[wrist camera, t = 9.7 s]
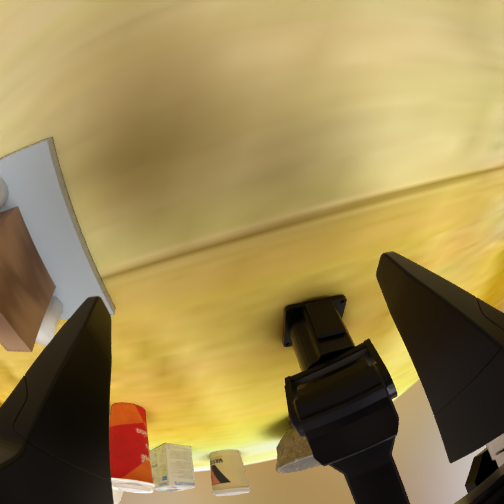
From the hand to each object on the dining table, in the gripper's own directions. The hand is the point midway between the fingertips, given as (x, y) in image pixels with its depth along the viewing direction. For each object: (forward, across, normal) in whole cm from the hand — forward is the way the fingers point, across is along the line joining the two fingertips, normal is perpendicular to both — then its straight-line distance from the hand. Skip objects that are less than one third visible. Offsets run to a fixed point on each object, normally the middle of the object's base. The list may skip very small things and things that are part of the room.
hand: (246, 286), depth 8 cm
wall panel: (+12, +16, +4) cm, 21 cm away
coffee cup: (+12, +8, +70) cm, 71 cm away
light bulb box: (+12, +20, +61) cm, 65 cm away
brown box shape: (+11, +17, +4) cm, 21 cm away
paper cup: (+12, +19, +35) cm, 42 cm away
